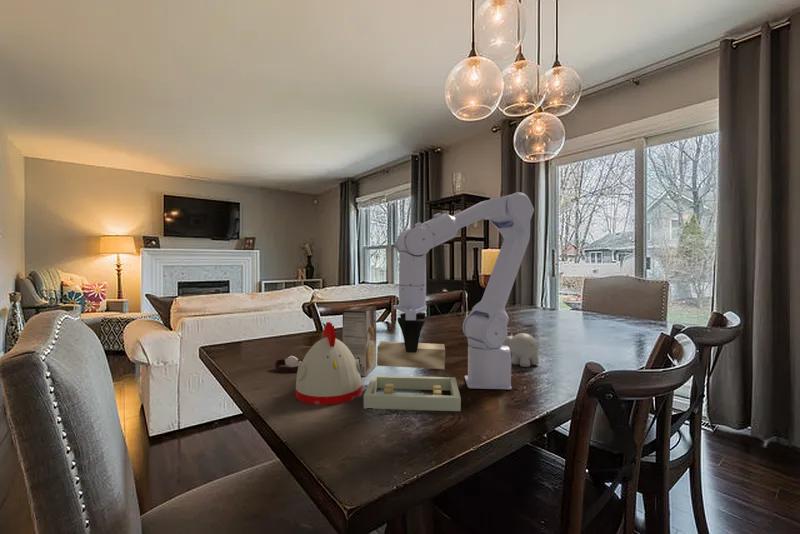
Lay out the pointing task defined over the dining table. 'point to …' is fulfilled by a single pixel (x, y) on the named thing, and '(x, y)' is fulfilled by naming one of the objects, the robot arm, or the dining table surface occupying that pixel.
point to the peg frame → (409, 400)
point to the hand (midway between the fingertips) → (412, 348)
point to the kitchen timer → (328, 372)
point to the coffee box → (361, 335)
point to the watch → (290, 362)
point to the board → (411, 355)
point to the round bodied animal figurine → (522, 349)
